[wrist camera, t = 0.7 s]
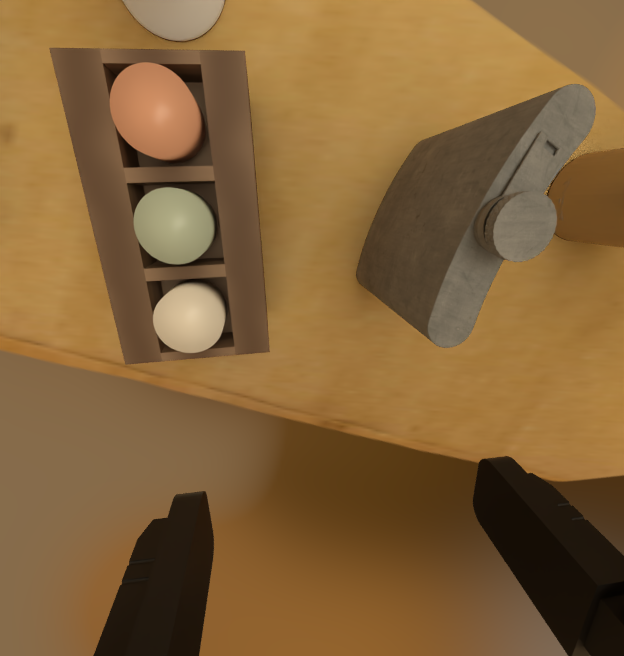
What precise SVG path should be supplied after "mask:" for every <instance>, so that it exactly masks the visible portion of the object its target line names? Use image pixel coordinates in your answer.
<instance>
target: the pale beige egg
mask: <svg viewBox="0 0 624 656" xmlns="http://www.w3.org/2000/svg"><path fill="white" fill-rule="evenodd" d="M227 311H228V308H227V302H226V299H225V297H224V295H223V293H222V292H221V291H220V290H219V289H218V288H217V287H216V286H215V285H213V284H212V283H210V282H208V281H205V280H202V279H188V280H184V281H181V282H180V283H178V284H176V285H175V286H174V287H173V288H172V289H171V290H170V291H169V292H168V293H167V294H166V295H165V296H164V297H163V298H162V299H161V300H160V301H159V302H158V304H157V305H156V307H155V310H154V314H153V324H154V328H155V331H156V333H157V335H158V336H159V338H160V339H161V340H162V341H163V342H164V343H165V344H166V345H167V346H169V347H170V348H172V349H174V350H177V351H180V352H184V353H197V352H201V351H204V350H207V349H208V348H210V347H211V346H213V345H214V344H215V343H216V342H217V341H218V339H219V338H220V336H221V333H222V331H223V327H224V324H225V320H226V317H227Z"/></svg>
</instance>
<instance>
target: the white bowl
mask: <svg viewBox="0 0 624 656" xmlns="http://www.w3.org/2000/svg"><path fill="white" fill-rule="evenodd" d="M122 1H123V2H124V4H125V6H126V7H127V9H128V10H129V12H130V13H131V14H132V16H133V17H134V18H135V19H136V20H137V21H138V22H139V23H140V24H141V25H142V26H143V27H145V28H146V29H147V30H149V31H150V32H152V33H153V34H155V35H157V36H159V37H162V38H165V39H168V40H173V41H188V40H192V39H195V38H198V37H200V36H201V35H203V34H205V33H206V32H207V31H208V30H209V29H210V28H211V27H212V26H213V25H214V24H215V23H216V21H217V19H218V18H219V16H220V14H221V12H222V9H223V6H224V2H225V0H122Z"/></svg>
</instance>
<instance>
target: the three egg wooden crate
mask: <svg viewBox="0 0 624 656" xmlns="http://www.w3.org/2000/svg"><path fill="white" fill-rule="evenodd" d="M49 49H50V53H51V57H52V61H53V65H54V69H55V73H56V78H57V82H58V86H59V90H60V94H61V98H62V103H63V107H64V111H65V115H66V119H67V123H68V128H69V132H70V136H71V140H72V144H73V148H74V152H75V157H76V161H77V165H78V169H79V173H80V177H81V182H82V186H83V190H84V194H85V198H86V202H87V207H88V211H89V215H90V219H91V223H92V227H93V231H94V236H95V240H96V244H97V248H98V252H99V256H100V261H101V265H102V269H103V273H104V277H105V281H106V286H107V290H108V294H109V298H110V302H111V306H112V310H113V315H114V319H115V323H116V327H117V331H118V335H119V340H120V344H121V348H122V352H123V356H124V360H125V364H138V363H149V362H160V361H172V360H183V359H195V358H206V357H217V356H229V355H240V354H252V353H263V352H270V351H269V336H268V321H267V307H266V295H265V283H264V271H263V258H262V246H261V234H260V222H259V210H258V197H257V185H256V173H255V161H254V149H253V136H252V124H251V112H250V100H249V90H248V79H247V69H246V59H245V51H220V50H156V49H92V48H49ZM143 62H149V63H155V64H159V65H162V66H164V67H166V68H168V69H170V70H171V71H172V72H174V73H175V74H176V75H177V76H179V77H180V78H181V80H182V81H183V82H184V83H185V84H186V86H187V87H188V89H189V90H190V92H191V93H192V95H193V97H194V98H195V100H196V102H197V103H198V105H199V107H200V108H201V111H202V113H203V116H204V120H205V138H204V141H203V144H202V146H201V148H200V150H199V151H198V152H197V153H196V155H194V156H193V157H192V158H190V159H189V160H187V161H184V162H180V163H167V162H163V161H160V160H158V159H156V158H153V157H151V156H149V155H146V154H144V153H142V152H140V151H138V150H136V149H135V148H133V147H132V146H131V145H130V144H129V143H128V142H127V141H126V140H125V139H124V138H123V137H122V136H121V134H120V133H119V131H118V130H117V128H116V126H115V124H114V121H113V119H112V115H111V111H110V93H111V89H112V86H113V83H114V81H115V79H116V78H117V76H118V75H119V74H120V73H121V72H122V71H123V70H124V69H126V68H127V67H129V66H131V65H133V64H137V63H143ZM165 187H171V188H178V189H184V190H189V191H192V192H194V193H197V194H198V195H200V196H201V197H203V198H204V199H205V200H206V201H207V202H208V203H209V204H210V206H211V207H212V209H213V211H214V213H215V216H216V219H217V234H216V238H215V240H214V242H213V244H212V245H211V246H210V247H209V249H208V250H206V251H205V252H204V253H203V254H202V255H201V256H200V257H198V258H197V259H195V260H194V261H191V262H189V263H185V264H169V263H165V262H162V261H160V260H158V259H156V258H154V257H153V256H151V255H150V254H149V253H148V252H147V251H146V250H145V249H144V248H143V247H142V245H141V244H140V242H139V240H138V239H137V236H136V234H135V230H134V213H135V209H136V207H137V205H138V203H139V202H140V200H141V199H142V198H143V197H144V196H145V195H146V194H148V193H149V192H151V191H153V190H155V189H159V188H165ZM188 279H202V280H205V281H208V282H210V283H212V284H213V285H215V286H216V287H217V288H218V289H219V290H220V291H221V292H222V293H223V295H224V297H225V299H226V302H227V308H228V311H227V317H226V320H225V324H224V327H223V331H222V333H221V336H220V338H219V339H218V341H217V342H216V343H215V344H214V345H213V346H211V347H210V348H208V349H207V350H204V351H201V352H197V353H184V352H180V351H177V350H174V349H172V348H170V347H169V346H167V345H166V344H165V343H164V342H163V341H162V340H161V339H160V338H159V336H158V335H157V333H156V331H155V328H154V324H153V314H154V310H155V307H156V305H157V304H158V302H159V301H160V300H161V299H162V298H163V297H164V296H165V295H166V294H167V293H168V292H169V291H170V290H171V289H172V288H173V287H174V286H175V285H176V284H178V283H180V282H181V281H184V280H188Z"/></svg>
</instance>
